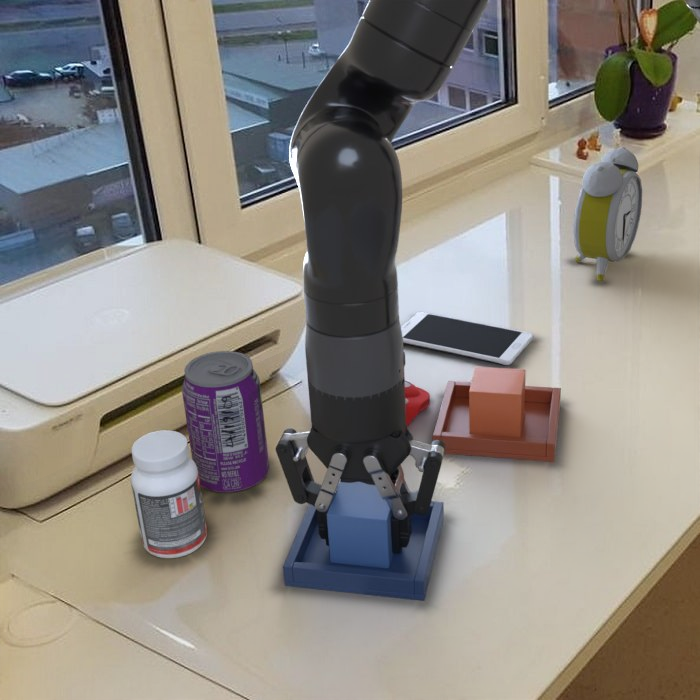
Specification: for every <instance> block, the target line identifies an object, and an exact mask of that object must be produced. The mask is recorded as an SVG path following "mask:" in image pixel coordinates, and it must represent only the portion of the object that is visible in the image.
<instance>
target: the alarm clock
mask: <svg viewBox="0 0 700 700" xmlns="http://www.w3.org/2000/svg"><path fill="white" fill-rule="evenodd" d="M638 172H639V162H638V159H637V157H636V155H635V153H633V152H632V151H630V150H629V149H627V148H626V147H625V146H620V147H618V148H617V147H616V148H612V149H610V150H608V151H607V152H605V153H604V154H603V155H602V157H601V159H600V161H598V162H595V163H593V164H591V165H590V166H589V167H588V168H586V170H585V172H584V174H583V176H582V185H581V188H580V191H579V194H578V197H577V200H576V205H575V209H574V210H575V211H574V218H573V241H574V245H575V249H576V250H577V252H578V253H577V255H576V256H575V257H574V261H575V262H576V263H580V262H581V261H583V260H585V259H586V258H589V259H594V260H596V276H597V281H598V282H604V279H605V276H606V275H605V274H606V272H607V270H608V269H607V268H608V265H609V263H610V262H612V263H613V262H614V263H615V262H617V263H618V262H620V261H622V260H623V259H625V258H626V256H628V254H629V253H630V251H631V249H632V247H633V244H634V241H635V239H636V236H637V233H638V229H639V225H640V220H641V214H642V207H643V186H642V179H641V177H640V176H639V174H638Z"/></svg>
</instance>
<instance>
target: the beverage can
mask: <svg viewBox="0 0 700 700" xmlns="http://www.w3.org/2000/svg"><path fill="white" fill-rule="evenodd" d="M183 370H184V380H183V383H182V385H181V395H182V401H183V408H184V414H185V415H184V416H185V421H186V428H187V434H188V441H189V447H190V448H189V449H190V453H191V454H190V455H191V459H192V460H193V461H194V462H195V464H196V466H197V469H198V474H199V481H200V487H203V488H204V489H207V490H208V491H213V492H218V493H231V492H239V491H243V490H246V489H250V488H252V487H254V486H255V485H258V484H259V483H260V482H261V481H263V480H264V479H265V478H266V476H267V475H268V473H269V471H270V460H269V452H268V451H269V450H268V443H267V433H266V424H265V415H264V408H263V407H264V406H263V397H262V389H261V381H260V377H259V375H258V373H257V372H256V370H255V369H254V364H253V360H252V359H251V358H250V357H249V355H247V354H245V353H242V352H238V351H232V350H219V351H218V350H217V351H212V352H207V353H203V354H201V355H198V356H196V357H195V358H193V359H191V360H190V361H188V362H187V364H186V365H185V367H184V369H183Z"/></svg>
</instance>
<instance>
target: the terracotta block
mask: <svg viewBox="0 0 700 700" xmlns="http://www.w3.org/2000/svg"><path fill="white" fill-rule="evenodd" d="M526 375H527V374H526V369H523V368H506V367H491V366H475V367H474V370H473V374H472V379H471V386H470V390H469V434H478V435H492V436H505V437H519V438H521V432H522V426H523V419H524V413H525V386H526Z"/></svg>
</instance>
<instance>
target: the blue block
mask: <svg viewBox="0 0 700 700" xmlns="http://www.w3.org/2000/svg"><path fill="white" fill-rule="evenodd" d="M391 516H392V512H391V510H390V508H389V506H388V504H387V502H386V500H385V499H384V500H383V499H382V497H381V495H380V493H379V491H378V489H377V487H376V485H369V484H365V483H362V482H353V483H345V482H341V479H340V481H339V484H338V486H337V489H336V491H335V495H334V498H333V500H332V503H331V505H330V508H329V510H328V513H327V525H328V537H329V550H330V562H331V563H339V564H348V565H358V566H367V567H377V568H386V569H389V568H390V564H391V561H392V557H393V554H394V553H392V539H391Z"/></svg>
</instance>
